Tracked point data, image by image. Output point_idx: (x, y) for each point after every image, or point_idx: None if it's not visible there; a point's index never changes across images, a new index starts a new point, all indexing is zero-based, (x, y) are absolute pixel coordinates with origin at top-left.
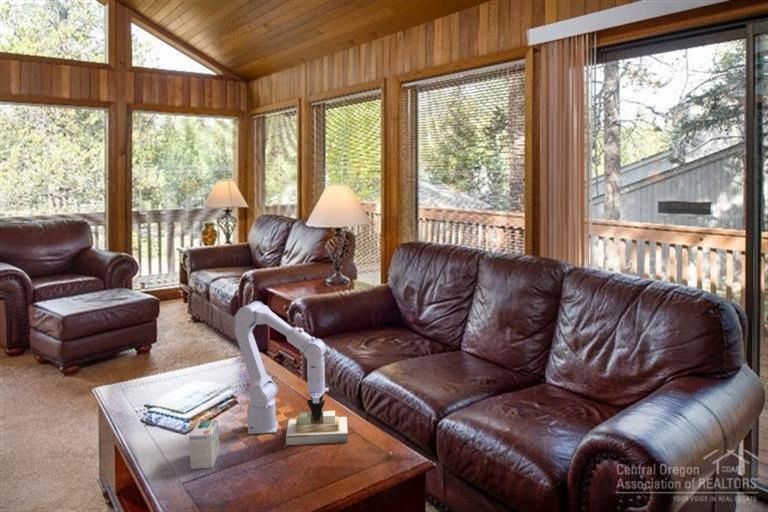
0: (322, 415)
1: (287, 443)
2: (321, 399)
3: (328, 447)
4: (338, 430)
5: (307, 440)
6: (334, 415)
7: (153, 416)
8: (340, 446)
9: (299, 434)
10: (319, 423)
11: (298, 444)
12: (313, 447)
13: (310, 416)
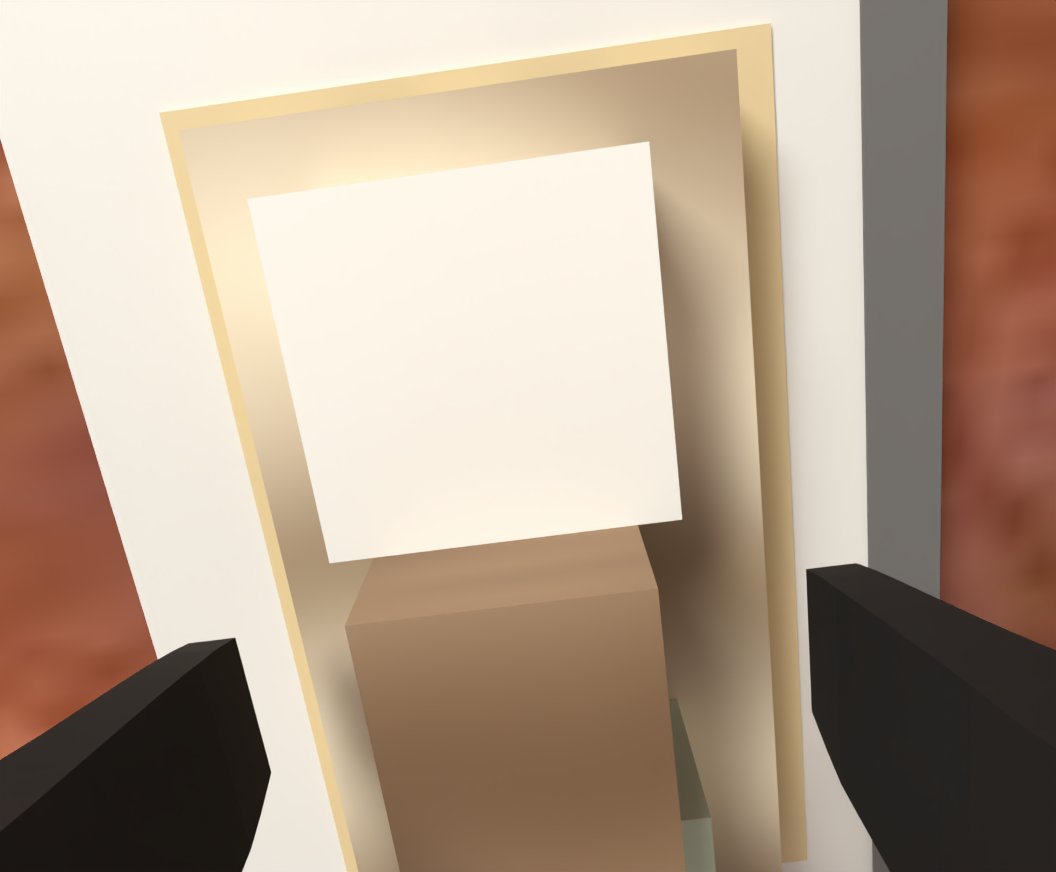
0: (641, 542)
1: None
2: (11, 859)
3: (1037, 232)
4: None
5: None
6: (639, 165)
7: None
8: (1032, 5)
9: (828, 779)
10: (659, 531)
11: None
12: (1000, 478)
13: (691, 824)
